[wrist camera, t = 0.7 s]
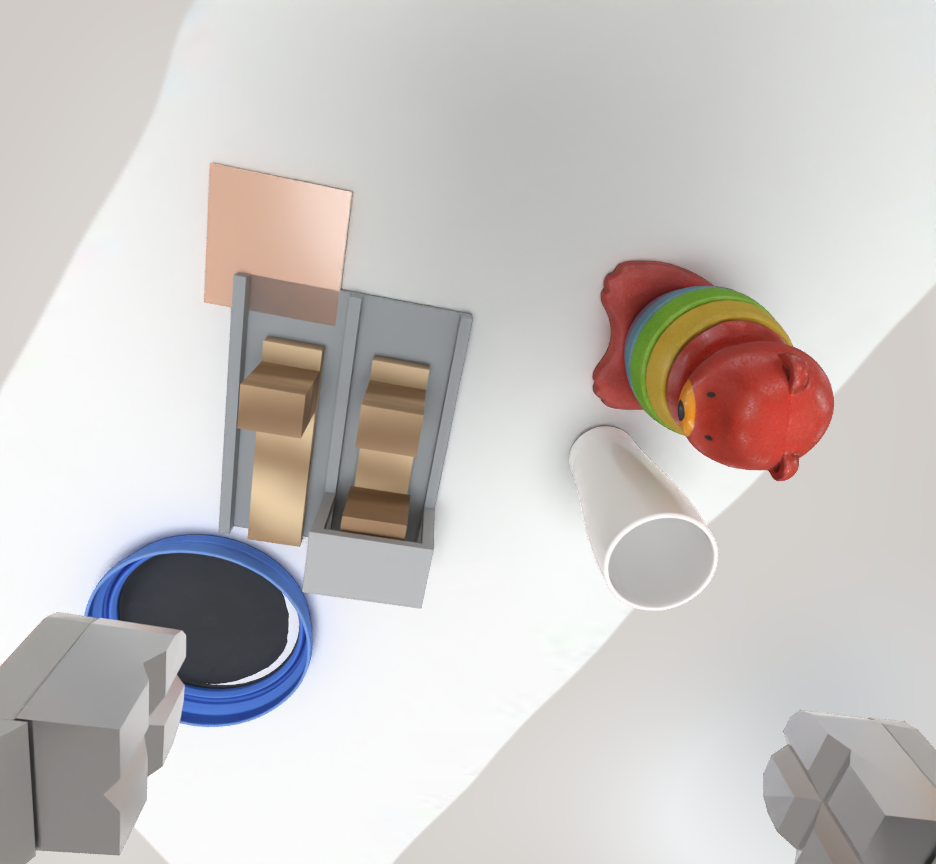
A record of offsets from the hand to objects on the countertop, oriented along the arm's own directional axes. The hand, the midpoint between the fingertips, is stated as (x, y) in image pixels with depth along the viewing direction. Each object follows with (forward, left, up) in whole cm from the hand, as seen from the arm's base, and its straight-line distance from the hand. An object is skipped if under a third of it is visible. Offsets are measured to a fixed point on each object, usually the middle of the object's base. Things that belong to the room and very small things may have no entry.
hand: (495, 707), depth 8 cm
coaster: (+1, -12, -39) cm, 41 cm away
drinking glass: (+12, +14, -39) cm, 43 cm away
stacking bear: (+2, +16, -39) cm, 42 cm away
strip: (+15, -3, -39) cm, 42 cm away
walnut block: (+20, -3, -37) cm, 42 cm away
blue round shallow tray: (+33, -15, -39) cm, 53 cm away
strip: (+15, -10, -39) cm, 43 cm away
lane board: (+13, -6, -39) cm, 41 cm away
